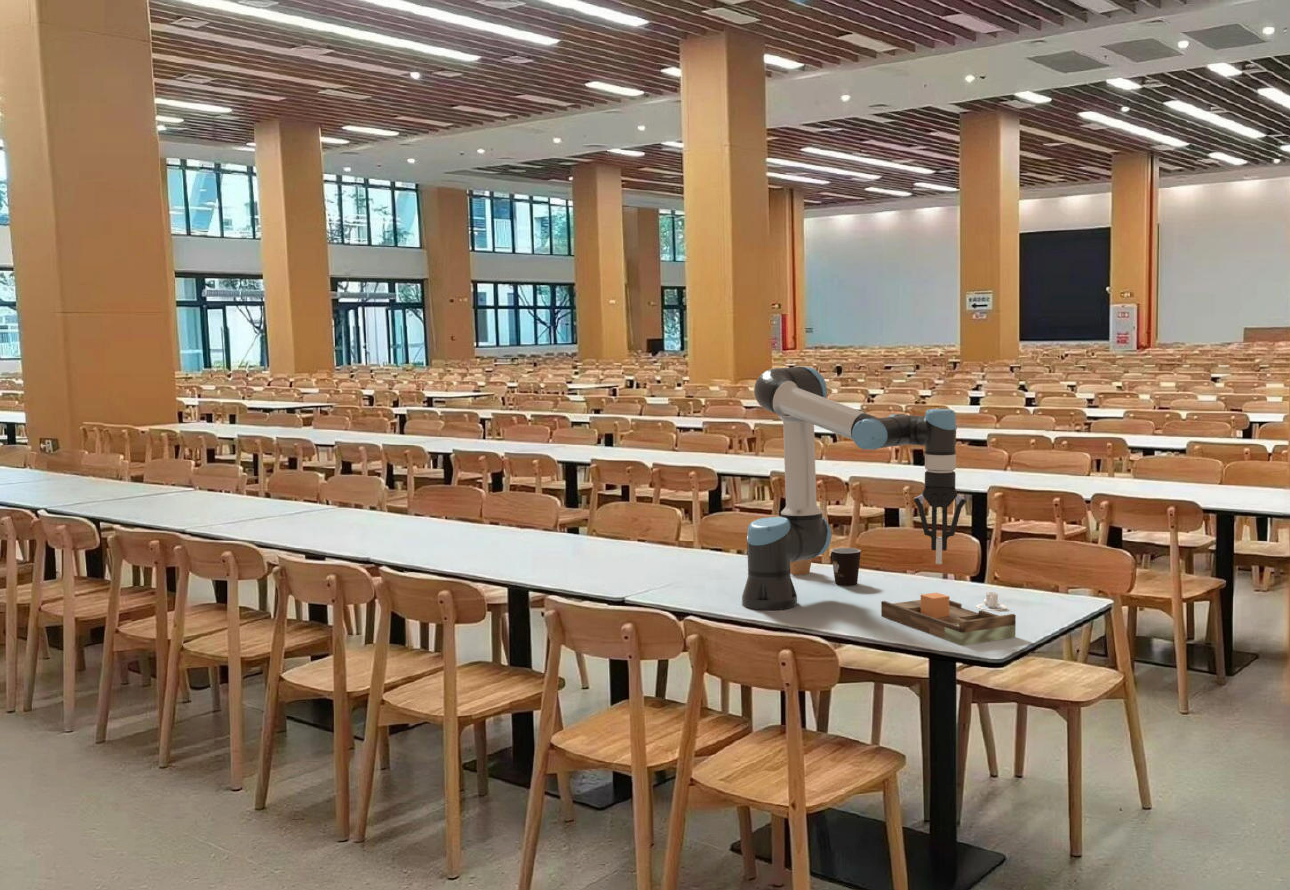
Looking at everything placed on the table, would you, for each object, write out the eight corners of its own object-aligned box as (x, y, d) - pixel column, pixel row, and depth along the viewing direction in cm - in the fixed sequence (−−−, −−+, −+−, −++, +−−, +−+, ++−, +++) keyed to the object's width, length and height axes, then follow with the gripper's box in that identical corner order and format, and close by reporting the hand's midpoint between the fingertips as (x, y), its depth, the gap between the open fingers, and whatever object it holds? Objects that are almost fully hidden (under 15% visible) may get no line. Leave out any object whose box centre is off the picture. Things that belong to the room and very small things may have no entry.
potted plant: (777, 572, 378) (776, 493, 376) (802, 568, 382) (801, 490, 380) (796, 577, 369) (795, 497, 367) (821, 573, 374) (821, 494, 371)
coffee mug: (863, 586, 354) (862, 552, 353) (833, 587, 354) (833, 553, 353) (857, 578, 366) (856, 545, 365) (828, 579, 366) (828, 546, 365)
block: (932, 618, 303) (932, 598, 302) (920, 614, 307) (920, 594, 307) (949, 615, 305) (949, 596, 304) (936, 611, 309) (936, 592, 309)
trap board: (961, 645, 288) (961, 622, 288) (881, 616, 318) (881, 595, 318) (1015, 636, 294) (1015, 614, 294) (931, 609, 325) (931, 589, 324)
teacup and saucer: (985, 603, 332) (985, 588, 332) (1013, 606, 327) (1013, 592, 327) (971, 609, 325) (971, 594, 325) (999, 613, 320) (999, 598, 320)
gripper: (966, 469, 307) (965, 560, 310) (913, 468, 310) (912, 559, 313) (967, 473, 300) (965, 567, 303) (913, 472, 303) (912, 565, 306)
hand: (938, 562), depth 308 cm, fingers closed
